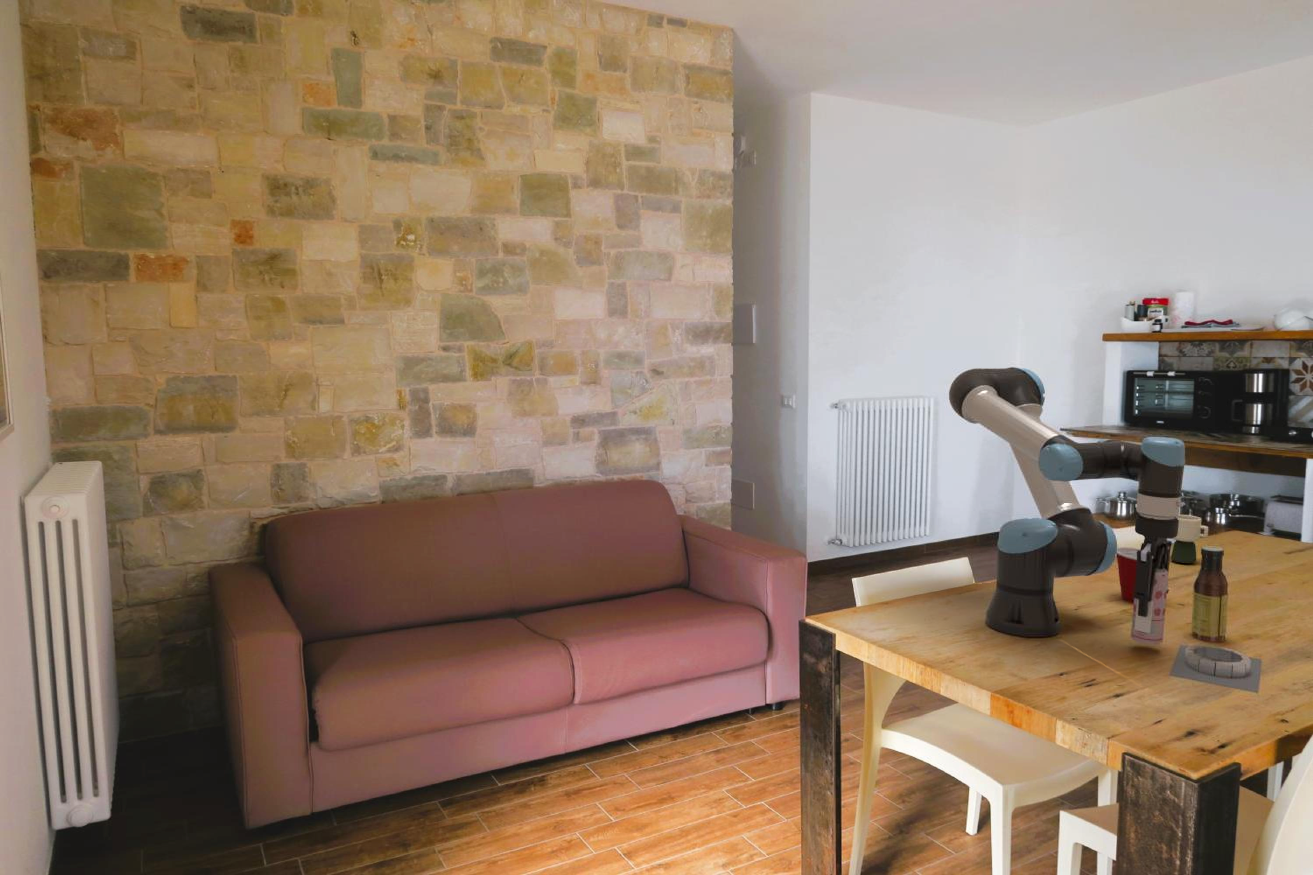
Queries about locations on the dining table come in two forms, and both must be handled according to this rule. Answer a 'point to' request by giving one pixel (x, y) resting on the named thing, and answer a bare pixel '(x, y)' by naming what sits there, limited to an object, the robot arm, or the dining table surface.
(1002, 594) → the robot arm
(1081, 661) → the dining table surface
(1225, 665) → the white segmented ring
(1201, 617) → the sauce bottle
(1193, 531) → the cup on green stand
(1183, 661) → the holder mat
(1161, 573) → the beverage can
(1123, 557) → the plastic cup
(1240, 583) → the dining table surface
